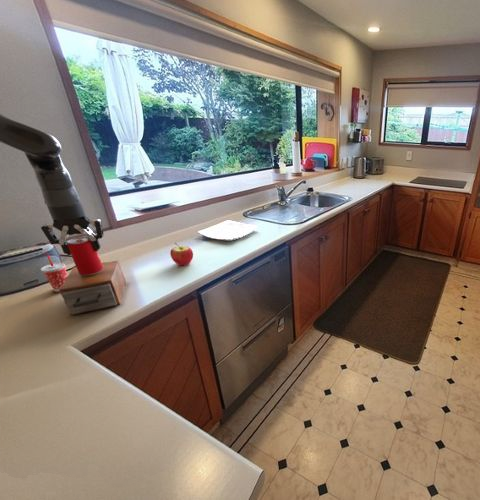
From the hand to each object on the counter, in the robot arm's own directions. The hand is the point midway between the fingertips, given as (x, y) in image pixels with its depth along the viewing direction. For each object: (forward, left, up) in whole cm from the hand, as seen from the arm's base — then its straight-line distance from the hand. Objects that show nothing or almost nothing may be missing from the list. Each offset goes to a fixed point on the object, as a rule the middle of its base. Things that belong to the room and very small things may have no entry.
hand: (83, 252), depth 92 cm
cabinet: (0, -1, -17) cm, 17 cm away
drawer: (0, -5, -16) cm, 17 cm away
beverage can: (0, 0, -8) cm, 8 cm away
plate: (+49, +44, -17) cm, 68 cm away
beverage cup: (-13, +12, -17) cm, 25 cm away
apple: (+26, +15, -17) cm, 35 cm away
